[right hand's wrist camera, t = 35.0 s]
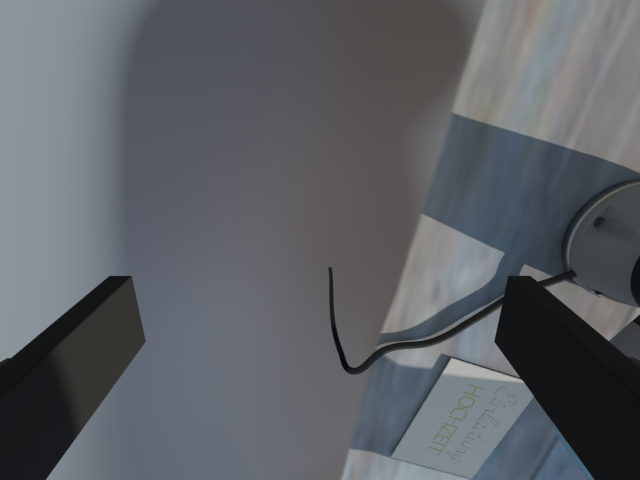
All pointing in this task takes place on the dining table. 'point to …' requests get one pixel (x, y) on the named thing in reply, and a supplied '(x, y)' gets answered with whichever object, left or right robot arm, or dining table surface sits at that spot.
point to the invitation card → (463, 419)
